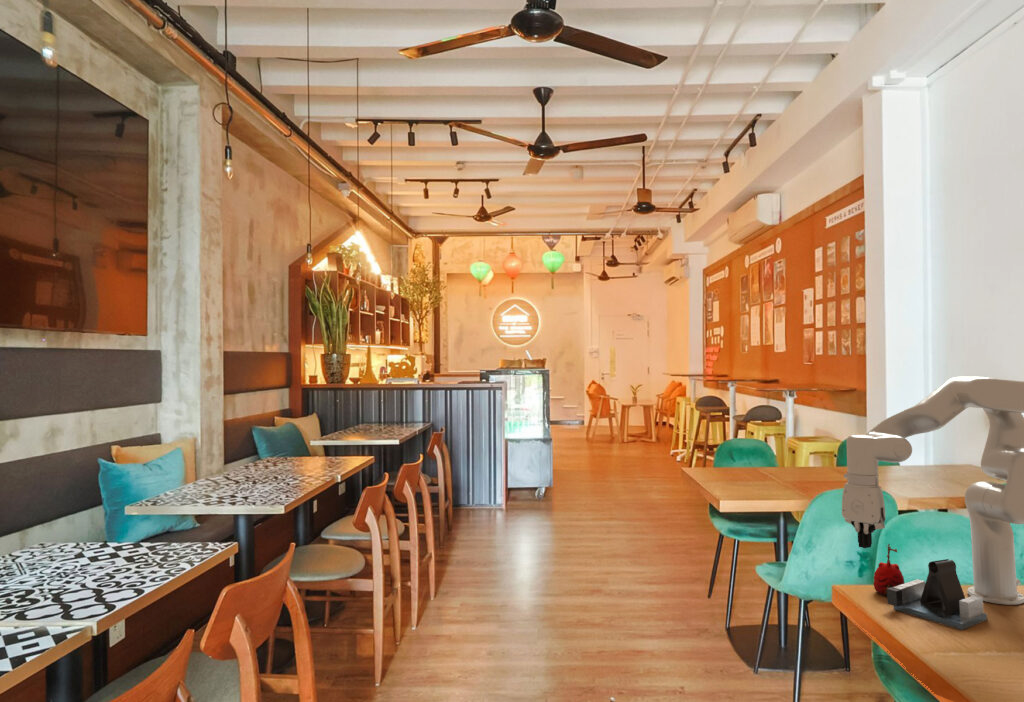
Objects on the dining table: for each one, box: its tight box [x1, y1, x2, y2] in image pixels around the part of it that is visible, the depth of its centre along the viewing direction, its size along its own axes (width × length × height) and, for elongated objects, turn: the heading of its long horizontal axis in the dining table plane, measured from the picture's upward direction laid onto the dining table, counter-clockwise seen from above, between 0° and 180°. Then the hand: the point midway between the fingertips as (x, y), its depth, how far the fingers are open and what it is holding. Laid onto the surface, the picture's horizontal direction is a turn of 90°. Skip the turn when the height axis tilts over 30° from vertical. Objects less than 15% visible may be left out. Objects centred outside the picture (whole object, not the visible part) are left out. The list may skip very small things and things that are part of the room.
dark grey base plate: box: [893, 595, 988, 631], centre depth 165 cm, size 12×16×6 cm
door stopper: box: [920, 558, 966, 614], centre depth 166 cm, size 9×6×12 cm, turn 16°
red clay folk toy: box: [873, 543, 905, 597], centre depth 181 cm, size 8×7×15 cm
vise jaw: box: [886, 579, 926, 607], centre depth 171 cm, size 14×2×4 cm, turn 119°
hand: (864, 546), depth 175 cm, fingers closed
